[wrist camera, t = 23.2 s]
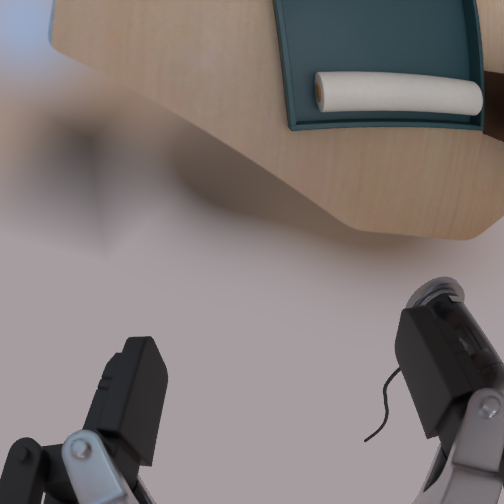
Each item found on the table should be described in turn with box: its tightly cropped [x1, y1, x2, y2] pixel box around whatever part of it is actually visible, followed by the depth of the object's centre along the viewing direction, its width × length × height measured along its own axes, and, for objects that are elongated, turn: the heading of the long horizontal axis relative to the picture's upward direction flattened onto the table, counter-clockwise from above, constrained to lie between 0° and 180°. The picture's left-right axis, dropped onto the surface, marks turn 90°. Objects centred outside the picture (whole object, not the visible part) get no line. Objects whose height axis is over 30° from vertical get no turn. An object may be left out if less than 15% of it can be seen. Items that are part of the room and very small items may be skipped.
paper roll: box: [315, 71, 483, 115], centre depth 29 cm, size 4×20×4 cm, turn 97°
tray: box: [273, 0, 484, 131], centre depth 27 cm, size 21×25×3 cm
